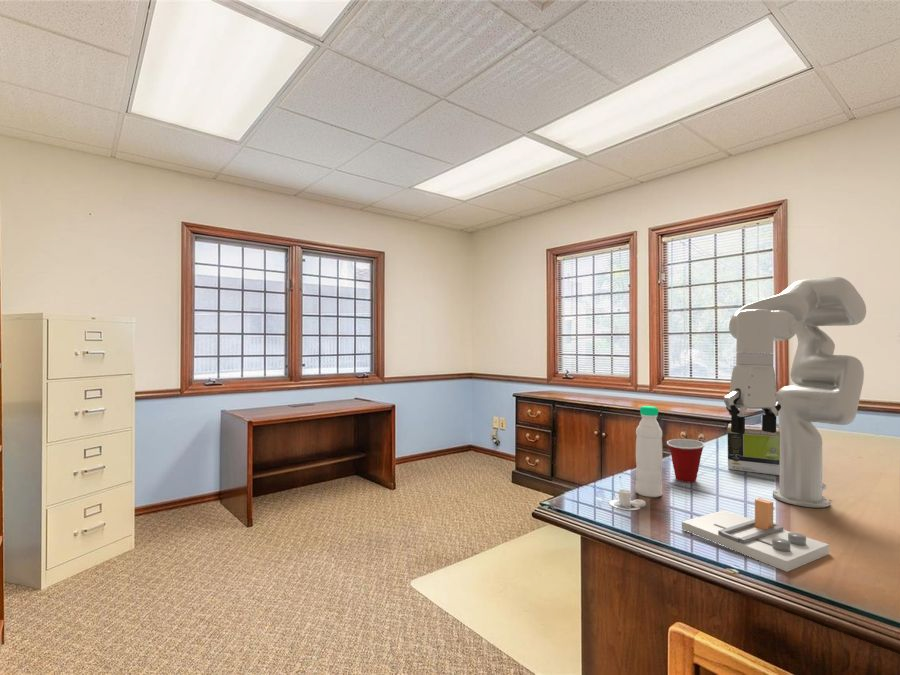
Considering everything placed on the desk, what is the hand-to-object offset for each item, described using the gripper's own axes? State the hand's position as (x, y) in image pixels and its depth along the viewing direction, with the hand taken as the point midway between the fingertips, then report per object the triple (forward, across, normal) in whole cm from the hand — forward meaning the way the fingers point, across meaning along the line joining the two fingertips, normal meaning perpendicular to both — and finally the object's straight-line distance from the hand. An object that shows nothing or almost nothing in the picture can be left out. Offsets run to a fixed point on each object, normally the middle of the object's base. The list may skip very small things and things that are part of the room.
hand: (753, 432), depth 112 cm
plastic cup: (+22, -13, -34) cm, 42 cm away
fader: (+20, +4, +6) cm, 21 cm away
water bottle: (+22, +8, -26) cm, 35 cm away
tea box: (+21, -45, -38) cm, 62 cm away
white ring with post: (+23, +21, -17) cm, 35 cm away
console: (+22, +9, +7) cm, 25 cm away
